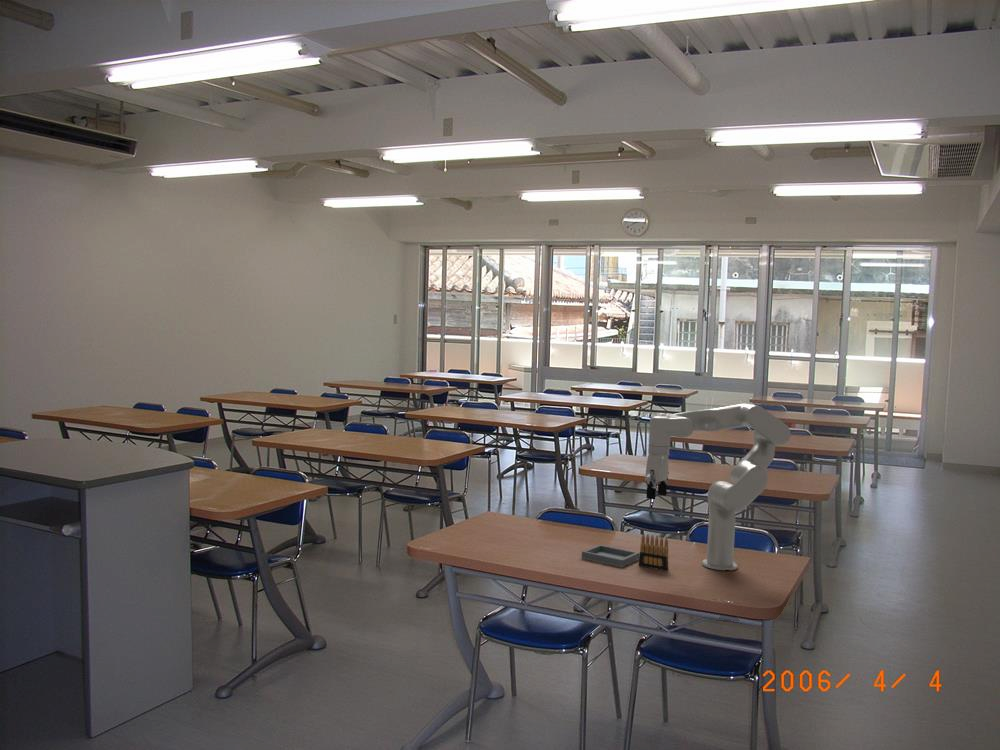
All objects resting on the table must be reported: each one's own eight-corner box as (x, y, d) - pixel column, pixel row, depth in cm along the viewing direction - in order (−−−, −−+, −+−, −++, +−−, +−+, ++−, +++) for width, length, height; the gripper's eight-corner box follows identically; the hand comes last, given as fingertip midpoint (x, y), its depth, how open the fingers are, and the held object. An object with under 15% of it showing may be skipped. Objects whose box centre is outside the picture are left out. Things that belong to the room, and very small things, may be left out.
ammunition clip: (638, 565, 289) (640, 533, 288) (640, 564, 290) (641, 532, 290) (666, 570, 283) (668, 537, 283) (668, 569, 285) (669, 536, 285)
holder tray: (599, 551, 307) (599, 544, 307) (639, 559, 297) (639, 552, 297) (581, 558, 295) (581, 551, 295) (622, 567, 285) (622, 560, 285)
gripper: (659, 447, 294) (656, 492, 295) (639, 451, 280) (636, 498, 281) (678, 449, 290) (675, 495, 291) (658, 453, 276) (656, 501, 277)
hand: (656, 496), depth 286 cm, fingers open, 9 cm apart
